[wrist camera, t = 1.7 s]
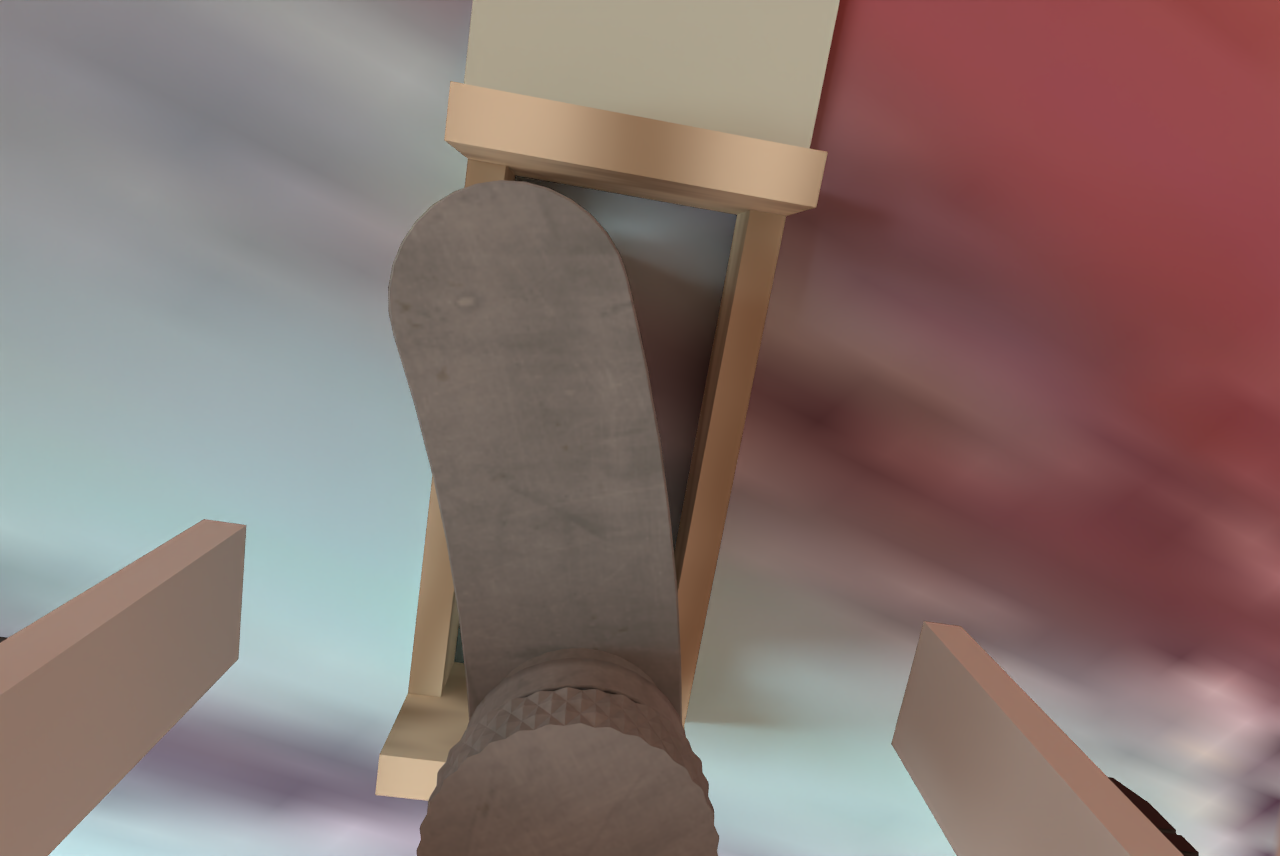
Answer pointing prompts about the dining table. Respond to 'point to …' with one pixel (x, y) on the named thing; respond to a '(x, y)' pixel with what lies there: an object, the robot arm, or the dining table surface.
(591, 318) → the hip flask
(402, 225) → the dining table surface
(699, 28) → the mat
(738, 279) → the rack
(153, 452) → the dining table surface
